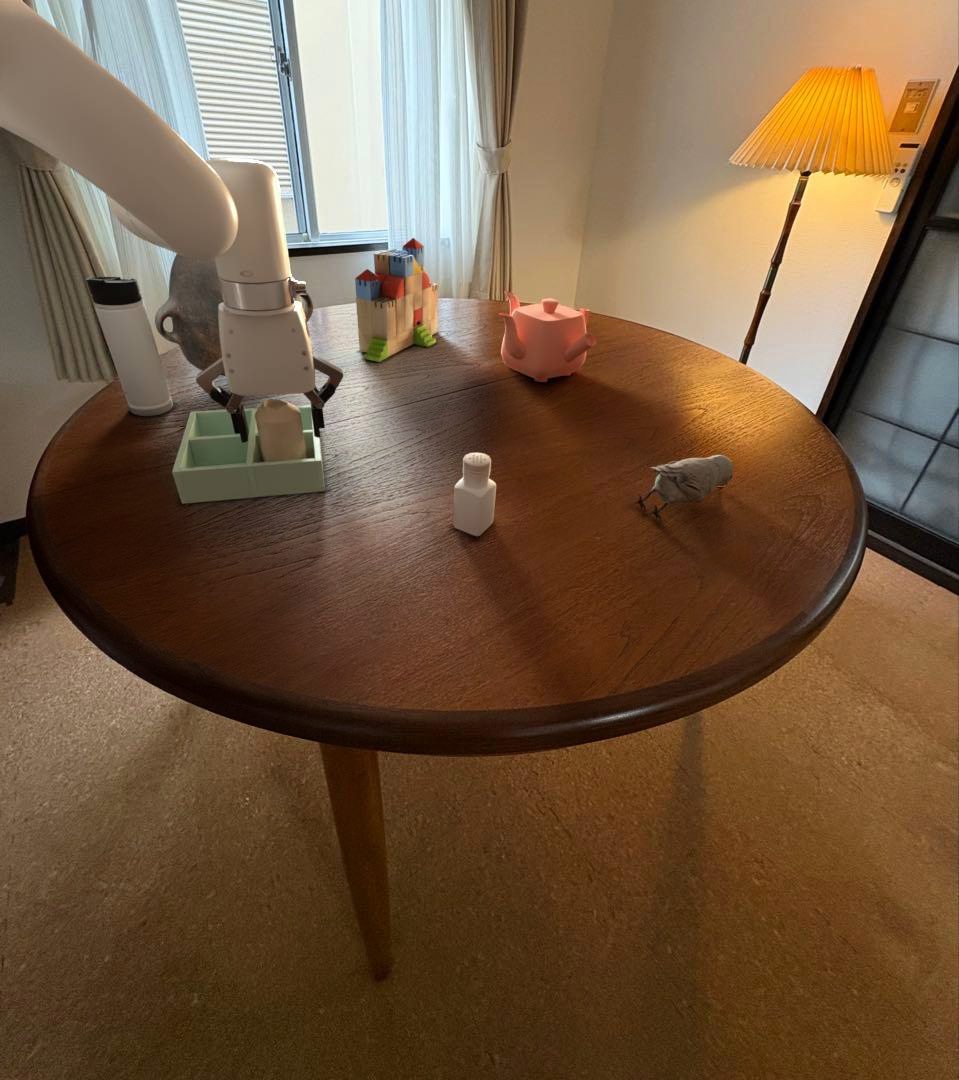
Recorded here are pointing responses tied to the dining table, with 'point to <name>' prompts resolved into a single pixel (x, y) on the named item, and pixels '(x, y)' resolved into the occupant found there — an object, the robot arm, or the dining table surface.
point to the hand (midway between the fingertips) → (281, 435)
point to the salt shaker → (474, 495)
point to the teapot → (545, 338)
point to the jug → (198, 310)
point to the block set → (396, 303)
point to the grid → (240, 461)
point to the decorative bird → (689, 480)
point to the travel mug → (131, 344)
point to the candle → (280, 431)
